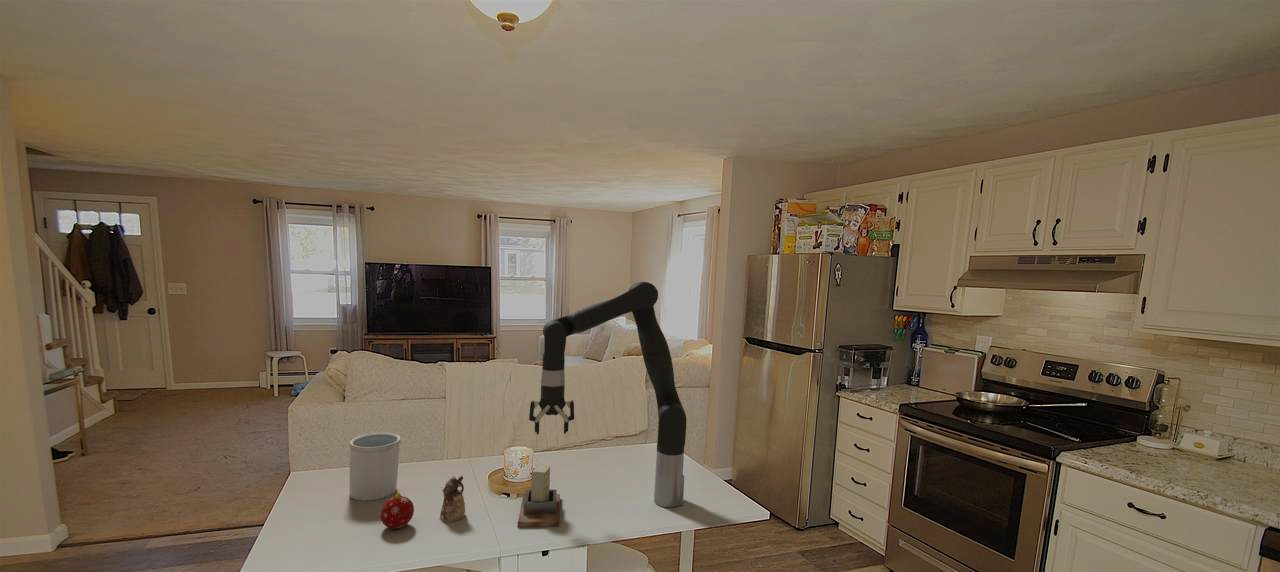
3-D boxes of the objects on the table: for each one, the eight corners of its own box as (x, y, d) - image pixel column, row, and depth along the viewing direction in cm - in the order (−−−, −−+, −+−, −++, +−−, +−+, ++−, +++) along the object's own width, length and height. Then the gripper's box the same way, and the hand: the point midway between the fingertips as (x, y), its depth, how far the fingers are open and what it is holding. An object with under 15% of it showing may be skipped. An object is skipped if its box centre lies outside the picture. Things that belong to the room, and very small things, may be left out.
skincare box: (543, 512, 155) (545, 472, 155) (529, 510, 155) (531, 471, 155) (549, 503, 161) (551, 465, 161) (535, 502, 161) (537, 464, 161)
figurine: (440, 512, 155) (441, 473, 154) (464, 509, 157) (466, 471, 157) (439, 523, 148) (441, 482, 148) (465, 520, 150) (467, 480, 150)
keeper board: (560, 498, 168) (560, 494, 168) (558, 526, 150) (559, 521, 150) (523, 498, 167) (523, 494, 167) (517, 527, 148) (517, 522, 148)
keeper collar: (556, 500, 164) (556, 489, 163) (555, 514, 154) (556, 502, 154) (526, 500, 162) (526, 489, 162) (523, 514, 153) (523, 503, 153)
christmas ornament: (382, 537, 139) (384, 501, 138) (377, 524, 146) (379, 490, 145) (416, 529, 144) (417, 494, 144) (409, 517, 151) (411, 484, 150)
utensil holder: (396, 499, 162) (399, 444, 162) (343, 504, 157) (346, 448, 156) (399, 481, 176) (402, 431, 176) (351, 485, 170) (353, 434, 170)
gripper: (574, 380, 167) (573, 429, 167) (530, 380, 164) (529, 430, 165) (575, 385, 159) (574, 436, 160) (529, 385, 157) (528, 437, 157)
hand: (551, 433), depth 162 cm, fingers open, 8 cm apart
